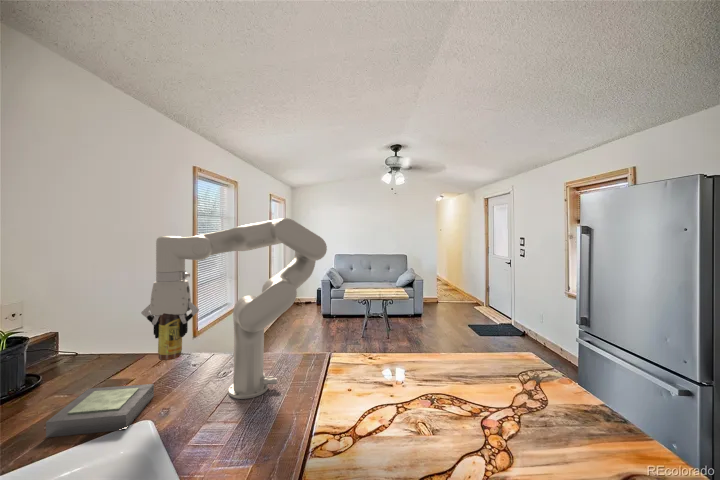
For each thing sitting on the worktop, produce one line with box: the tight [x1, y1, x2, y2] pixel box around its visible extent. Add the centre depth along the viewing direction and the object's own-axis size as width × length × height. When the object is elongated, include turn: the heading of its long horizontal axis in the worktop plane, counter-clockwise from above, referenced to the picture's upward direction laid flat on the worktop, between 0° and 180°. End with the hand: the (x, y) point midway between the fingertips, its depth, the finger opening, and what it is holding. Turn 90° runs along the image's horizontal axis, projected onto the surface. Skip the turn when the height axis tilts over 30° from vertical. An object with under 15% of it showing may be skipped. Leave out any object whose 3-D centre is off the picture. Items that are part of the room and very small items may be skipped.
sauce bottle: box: [157, 313, 183, 361], centre depth 98 cm, size 6×6×20 cm
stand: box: [45, 383, 155, 438], centre depth 93 cm, size 18×18×4 cm
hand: (170, 335), depth 98 cm, fingers closed on sauce bottle, 6 cm apart
